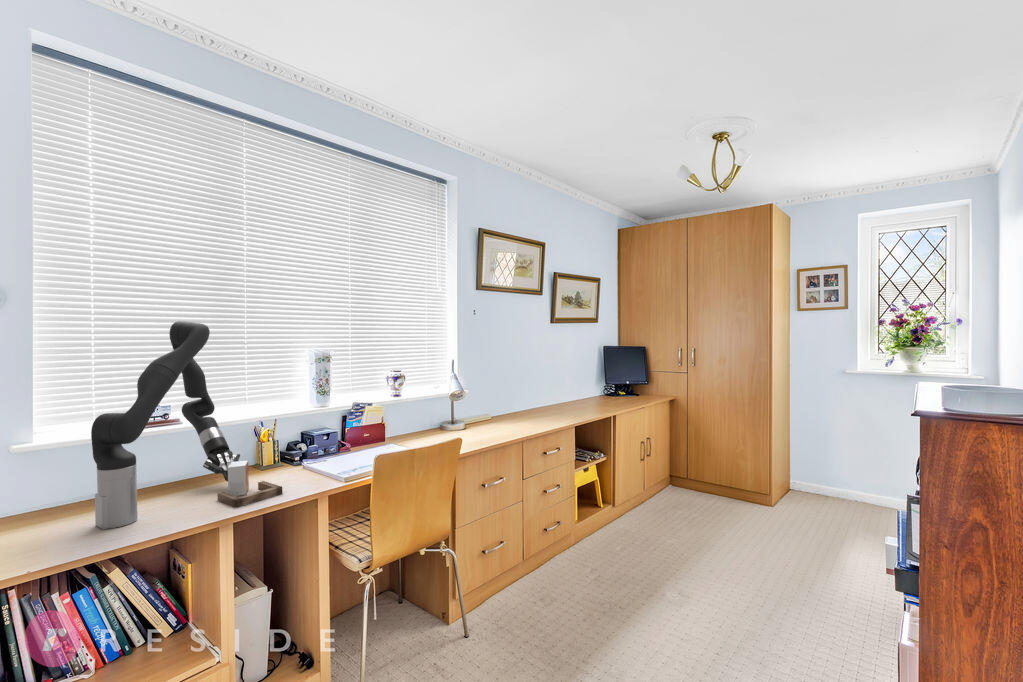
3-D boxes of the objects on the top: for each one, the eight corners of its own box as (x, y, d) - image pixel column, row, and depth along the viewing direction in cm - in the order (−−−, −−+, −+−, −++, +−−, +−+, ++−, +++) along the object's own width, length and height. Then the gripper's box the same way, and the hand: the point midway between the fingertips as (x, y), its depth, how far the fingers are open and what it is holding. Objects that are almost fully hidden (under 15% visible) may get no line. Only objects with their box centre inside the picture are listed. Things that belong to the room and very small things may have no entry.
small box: (246, 495, 170) (245, 465, 169) (227, 497, 167) (227, 467, 167) (249, 488, 177) (248, 459, 177) (231, 490, 175) (231, 461, 175)
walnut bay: (236, 507, 158) (235, 500, 158) (217, 500, 164) (217, 493, 164) (282, 493, 171) (282, 486, 171) (263, 487, 178) (263, 480, 178)
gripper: (197, 439, 174) (215, 478, 168) (235, 432, 185) (253, 469, 179) (191, 452, 177) (208, 491, 171) (228, 444, 188) (245, 481, 182)
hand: (231, 480), depth 175 cm, fingers closed
